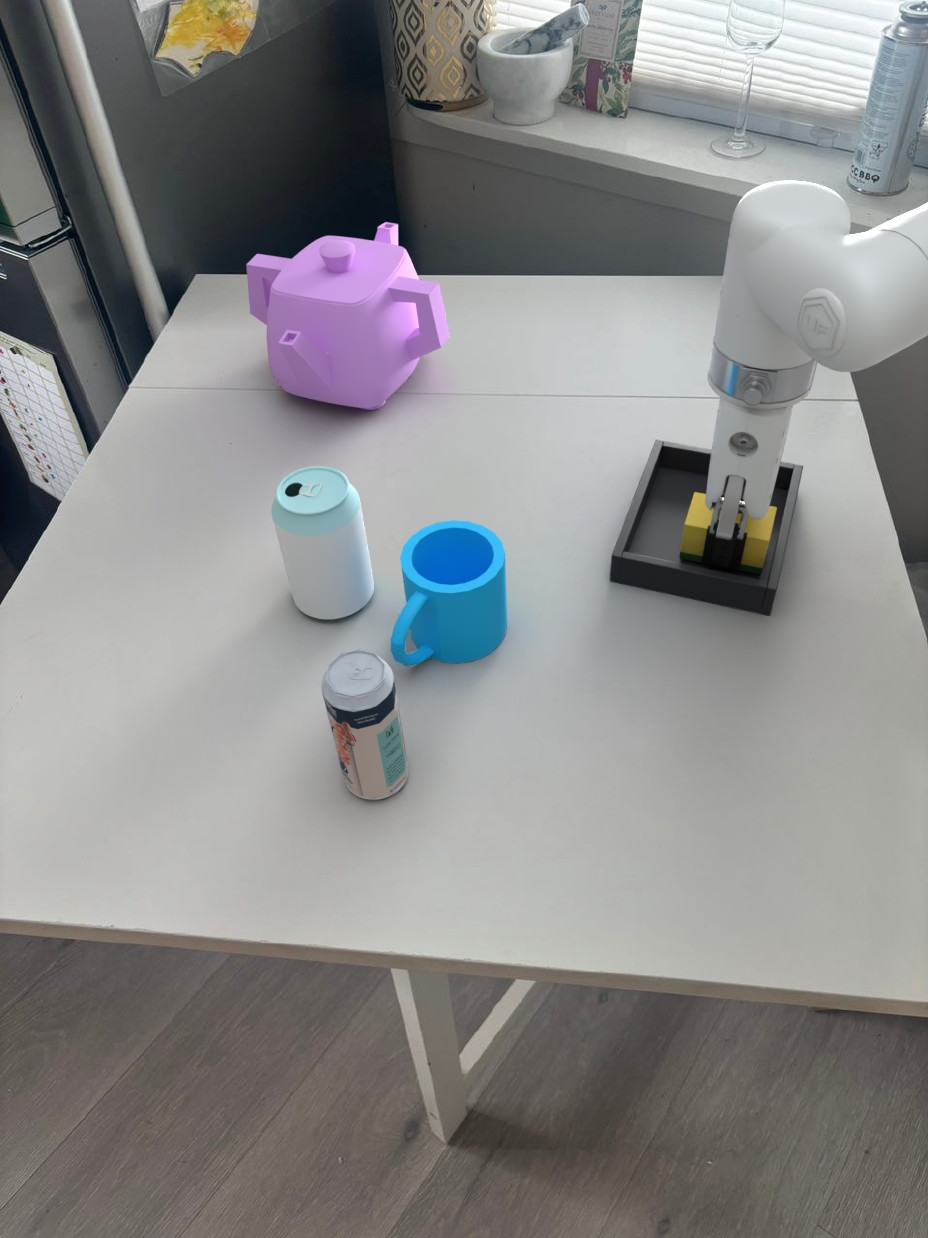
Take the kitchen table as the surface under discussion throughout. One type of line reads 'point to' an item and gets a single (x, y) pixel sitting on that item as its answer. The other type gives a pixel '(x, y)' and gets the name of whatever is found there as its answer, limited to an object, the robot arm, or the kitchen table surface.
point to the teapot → (346, 317)
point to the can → (323, 542)
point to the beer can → (365, 724)
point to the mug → (451, 594)
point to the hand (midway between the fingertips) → (726, 543)
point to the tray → (659, 524)
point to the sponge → (755, 528)
